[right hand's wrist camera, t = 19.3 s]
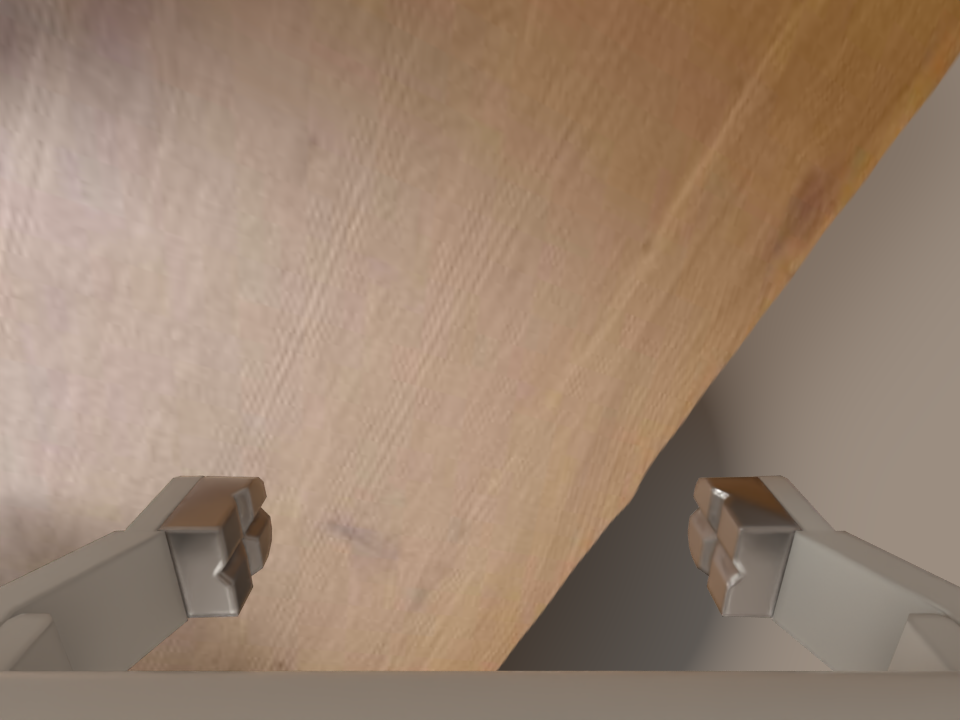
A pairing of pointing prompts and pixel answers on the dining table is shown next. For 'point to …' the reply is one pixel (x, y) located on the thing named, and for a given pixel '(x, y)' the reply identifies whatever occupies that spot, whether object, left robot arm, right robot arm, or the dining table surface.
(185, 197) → the dining table surface
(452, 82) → the dining table surface
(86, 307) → the dining table surface
